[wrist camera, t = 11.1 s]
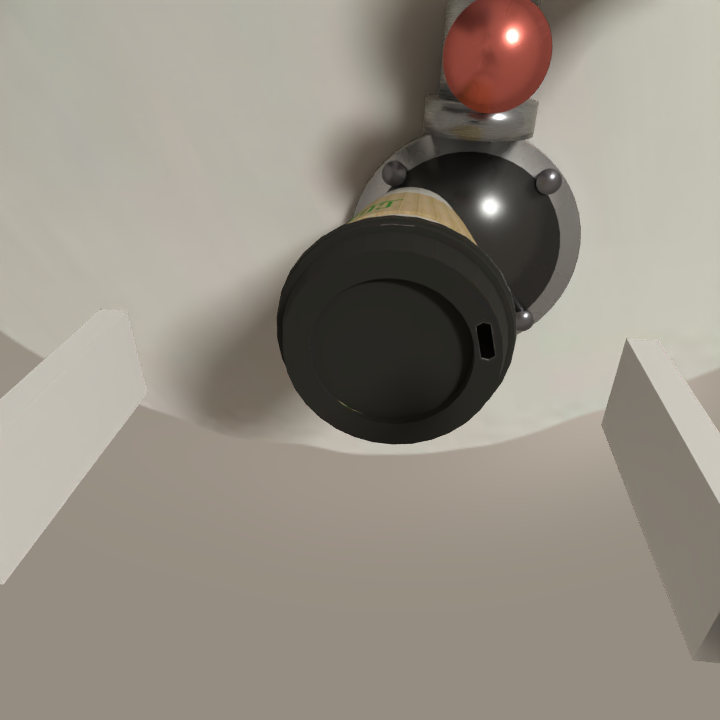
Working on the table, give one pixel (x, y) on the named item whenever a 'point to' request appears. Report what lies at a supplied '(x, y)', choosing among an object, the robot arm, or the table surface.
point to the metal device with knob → (494, 151)
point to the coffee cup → (397, 322)
